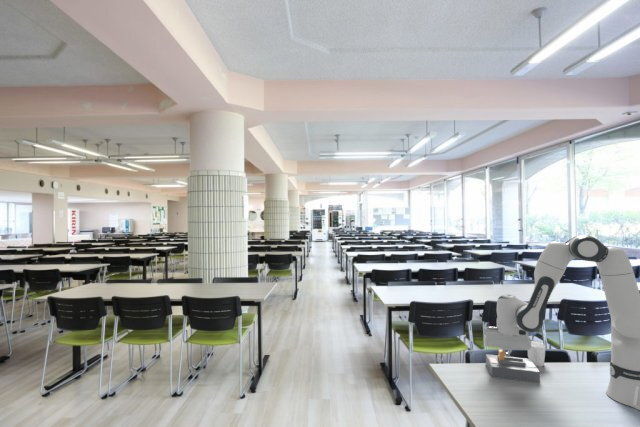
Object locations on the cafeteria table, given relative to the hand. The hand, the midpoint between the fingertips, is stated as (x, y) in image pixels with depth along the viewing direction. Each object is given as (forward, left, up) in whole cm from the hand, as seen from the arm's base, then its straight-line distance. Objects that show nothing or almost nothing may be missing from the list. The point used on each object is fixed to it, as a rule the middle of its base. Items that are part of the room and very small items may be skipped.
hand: (506, 356), depth 163 cm
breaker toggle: (+2, 0, -3) cm, 3 cm away
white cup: (-17, -14, -8) cm, 23 cm away
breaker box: (-2, 0, -8) cm, 8 cm away
